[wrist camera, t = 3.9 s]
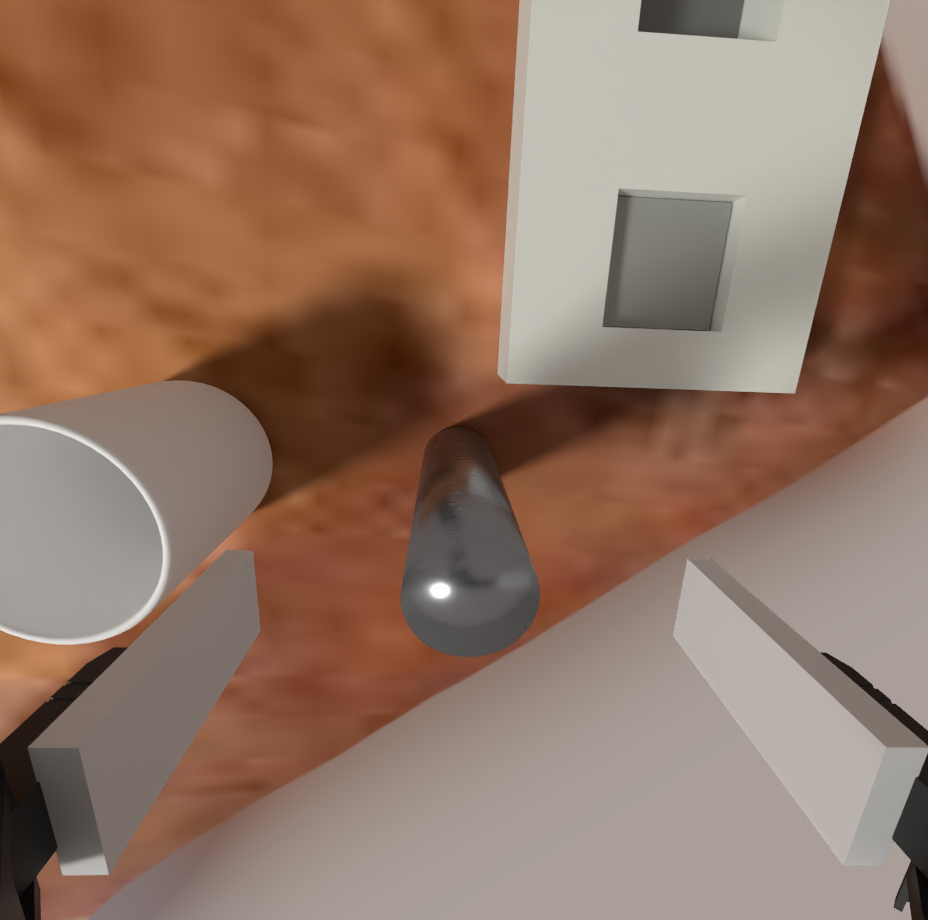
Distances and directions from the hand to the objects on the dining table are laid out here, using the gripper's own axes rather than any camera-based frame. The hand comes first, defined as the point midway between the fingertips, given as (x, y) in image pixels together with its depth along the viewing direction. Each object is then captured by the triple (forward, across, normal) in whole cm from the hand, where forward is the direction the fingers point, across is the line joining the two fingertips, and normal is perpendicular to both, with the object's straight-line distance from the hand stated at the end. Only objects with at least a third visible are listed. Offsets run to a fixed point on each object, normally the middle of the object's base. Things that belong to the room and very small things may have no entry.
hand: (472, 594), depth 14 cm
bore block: (+13, +9, +16) cm, 23 cm away
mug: (+14, -16, 0) cm, 21 cm away
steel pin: (+13, 0, 0) cm, 13 cm away
